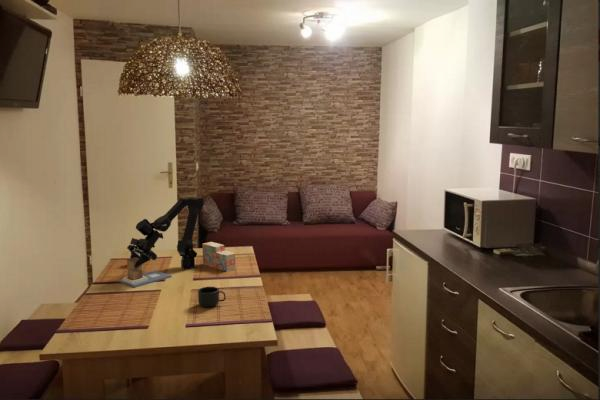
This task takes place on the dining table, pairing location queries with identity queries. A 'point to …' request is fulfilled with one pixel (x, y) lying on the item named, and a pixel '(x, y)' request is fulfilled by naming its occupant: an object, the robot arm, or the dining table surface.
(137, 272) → the pillar
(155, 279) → the board
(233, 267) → the stack of blocks
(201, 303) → the mug
